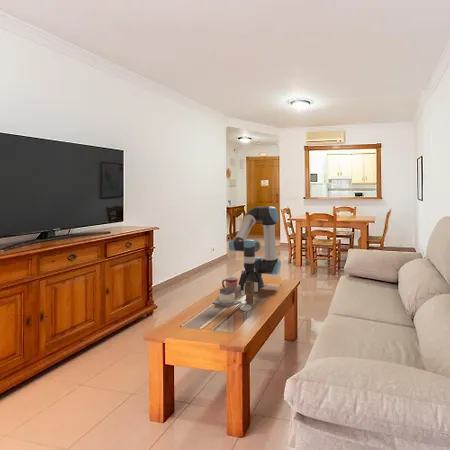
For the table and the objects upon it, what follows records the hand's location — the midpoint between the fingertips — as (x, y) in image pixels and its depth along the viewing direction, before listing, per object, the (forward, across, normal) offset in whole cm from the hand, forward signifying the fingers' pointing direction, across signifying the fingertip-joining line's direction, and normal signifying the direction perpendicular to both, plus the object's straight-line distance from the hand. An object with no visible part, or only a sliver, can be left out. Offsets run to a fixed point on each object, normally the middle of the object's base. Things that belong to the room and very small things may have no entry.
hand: (249, 293), depth 288 cm
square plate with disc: (+7, +10, -12) cm, 17 cm away
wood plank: (+7, 0, 0) cm, 7 cm away
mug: (+7, -5, -23) cm, 25 cm away
